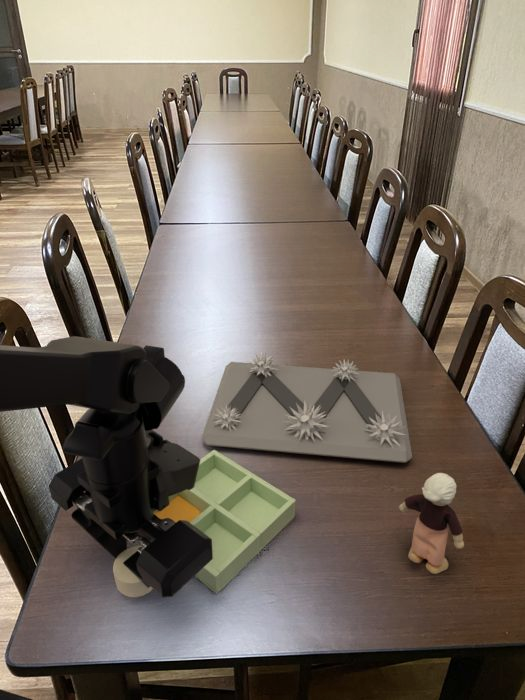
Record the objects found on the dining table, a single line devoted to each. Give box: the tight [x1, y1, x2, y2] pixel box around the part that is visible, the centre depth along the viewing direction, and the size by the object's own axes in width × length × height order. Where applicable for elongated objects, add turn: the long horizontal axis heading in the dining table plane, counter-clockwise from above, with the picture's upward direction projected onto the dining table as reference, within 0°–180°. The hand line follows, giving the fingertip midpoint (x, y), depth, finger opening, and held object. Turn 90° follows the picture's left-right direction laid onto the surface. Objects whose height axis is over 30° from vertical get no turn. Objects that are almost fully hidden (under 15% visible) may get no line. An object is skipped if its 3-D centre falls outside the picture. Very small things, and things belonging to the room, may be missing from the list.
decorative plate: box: [200, 351, 413, 464], centre depth 83 cm, size 30×22×7 cm
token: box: [112, 545, 154, 598], centre depth 57 cm, size 5×5×2 cm
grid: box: [154, 449, 297, 595], centre depth 66 cm, size 14×14×3 cm
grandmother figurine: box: [398, 472, 465, 575], centre depth 59 cm, size 8×4×13 cm, turn 58°
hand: (136, 570), depth 57 cm, fingers closed on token, 4 cm apart
